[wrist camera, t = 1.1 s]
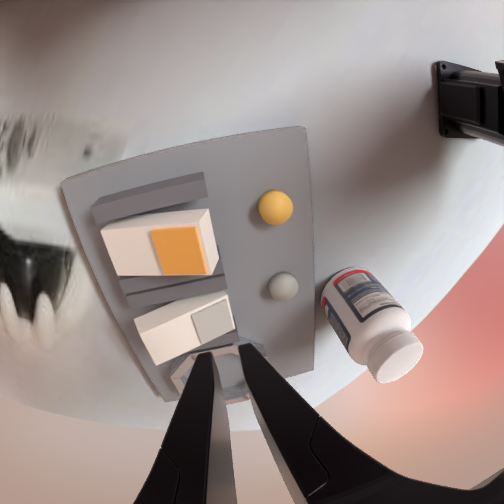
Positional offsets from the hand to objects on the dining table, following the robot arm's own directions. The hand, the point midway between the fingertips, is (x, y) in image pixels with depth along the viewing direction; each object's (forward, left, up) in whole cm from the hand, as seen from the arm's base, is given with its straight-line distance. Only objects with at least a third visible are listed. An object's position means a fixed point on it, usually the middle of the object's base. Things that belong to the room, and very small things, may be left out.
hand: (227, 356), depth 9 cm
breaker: (+3, +6, -9) cm, 11 cm away
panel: (+1, +7, -12) cm, 14 cm away
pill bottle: (-10, +10, -12) cm, 19 cm away
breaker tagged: (+3, 0, -9) cm, 9 cm away
